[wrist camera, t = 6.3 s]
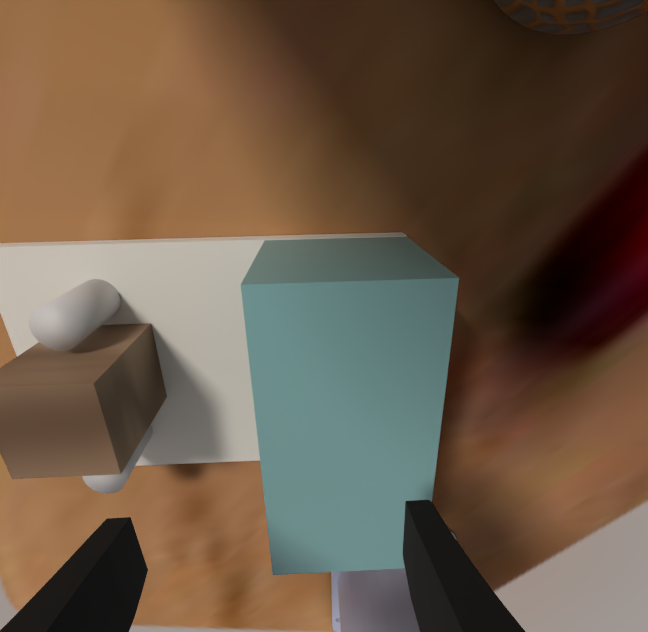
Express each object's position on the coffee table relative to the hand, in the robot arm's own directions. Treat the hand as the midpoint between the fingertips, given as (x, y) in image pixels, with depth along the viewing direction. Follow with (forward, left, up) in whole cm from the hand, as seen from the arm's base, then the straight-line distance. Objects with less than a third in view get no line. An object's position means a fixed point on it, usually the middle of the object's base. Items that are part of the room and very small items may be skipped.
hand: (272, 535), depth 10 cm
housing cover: (0, -2, -10) cm, 10 cm away
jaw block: (0, +8, -9) cm, 12 cm away
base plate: (0, +4, -10) cm, 10 cm away
